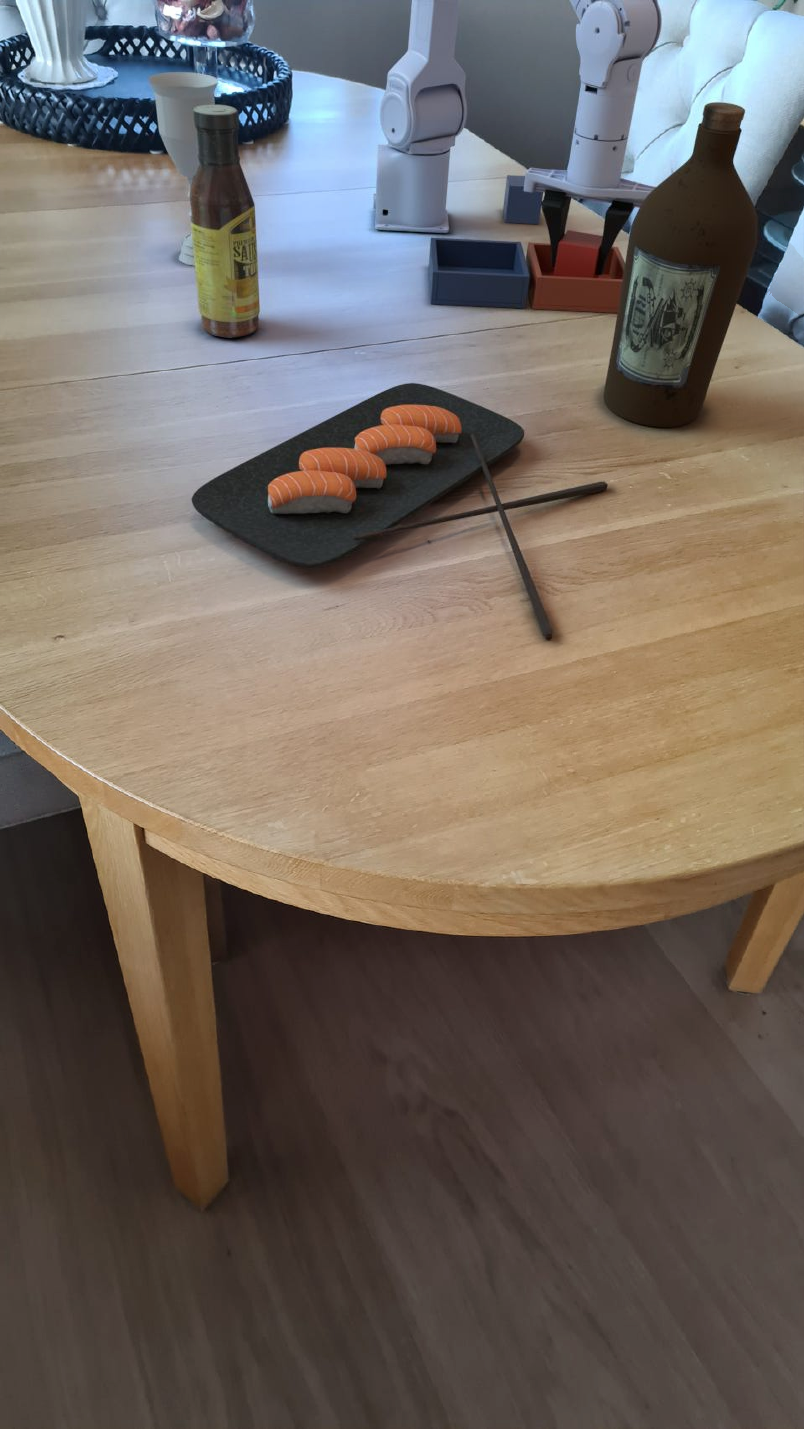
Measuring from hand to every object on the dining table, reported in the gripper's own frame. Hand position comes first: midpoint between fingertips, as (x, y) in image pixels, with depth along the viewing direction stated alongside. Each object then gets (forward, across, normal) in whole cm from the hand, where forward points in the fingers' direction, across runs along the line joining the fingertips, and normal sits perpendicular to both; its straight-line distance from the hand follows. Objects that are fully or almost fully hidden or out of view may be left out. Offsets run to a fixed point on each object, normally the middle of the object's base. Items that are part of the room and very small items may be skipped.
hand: (577, 268), depth 110 cm
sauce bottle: (+3, +31, +26) cm, 41 cm away
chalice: (+3, +43, +10) cm, 44 cm away
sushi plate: (+3, 0, +51) cm, 51 cm away
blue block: (+3, +12, -22) cm, 26 cm away
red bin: (+3, 0, 0) cm, 3 cm away
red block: (+1, 0, 0) cm, 1 cm away
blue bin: (+3, +11, +4) cm, 12 cm away
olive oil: (+3, -13, +24) cm, 27 cm away
